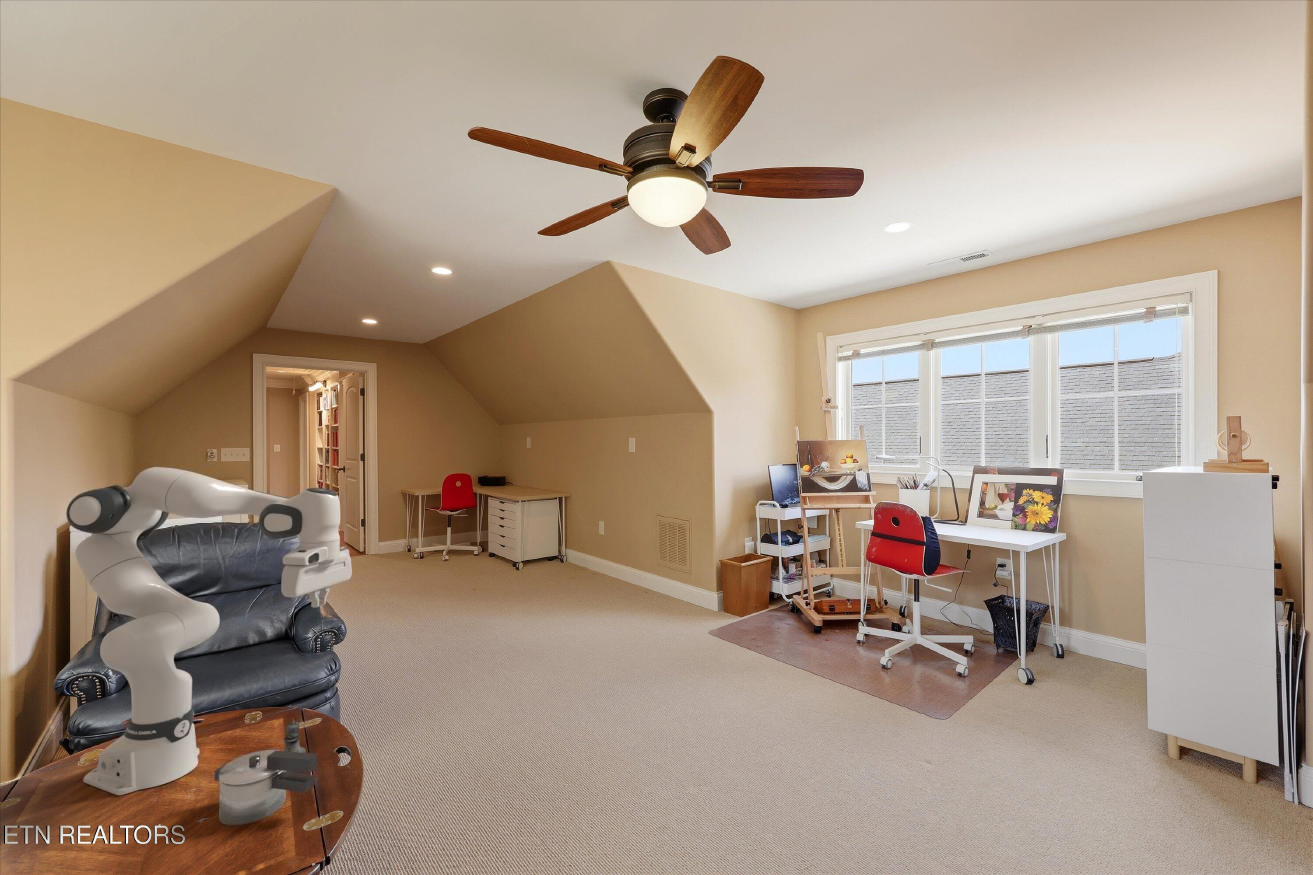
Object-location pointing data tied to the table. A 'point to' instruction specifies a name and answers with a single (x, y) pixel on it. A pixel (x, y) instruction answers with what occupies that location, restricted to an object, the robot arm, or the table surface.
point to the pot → (258, 796)
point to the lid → (265, 766)
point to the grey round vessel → (293, 739)
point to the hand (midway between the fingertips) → (318, 605)
